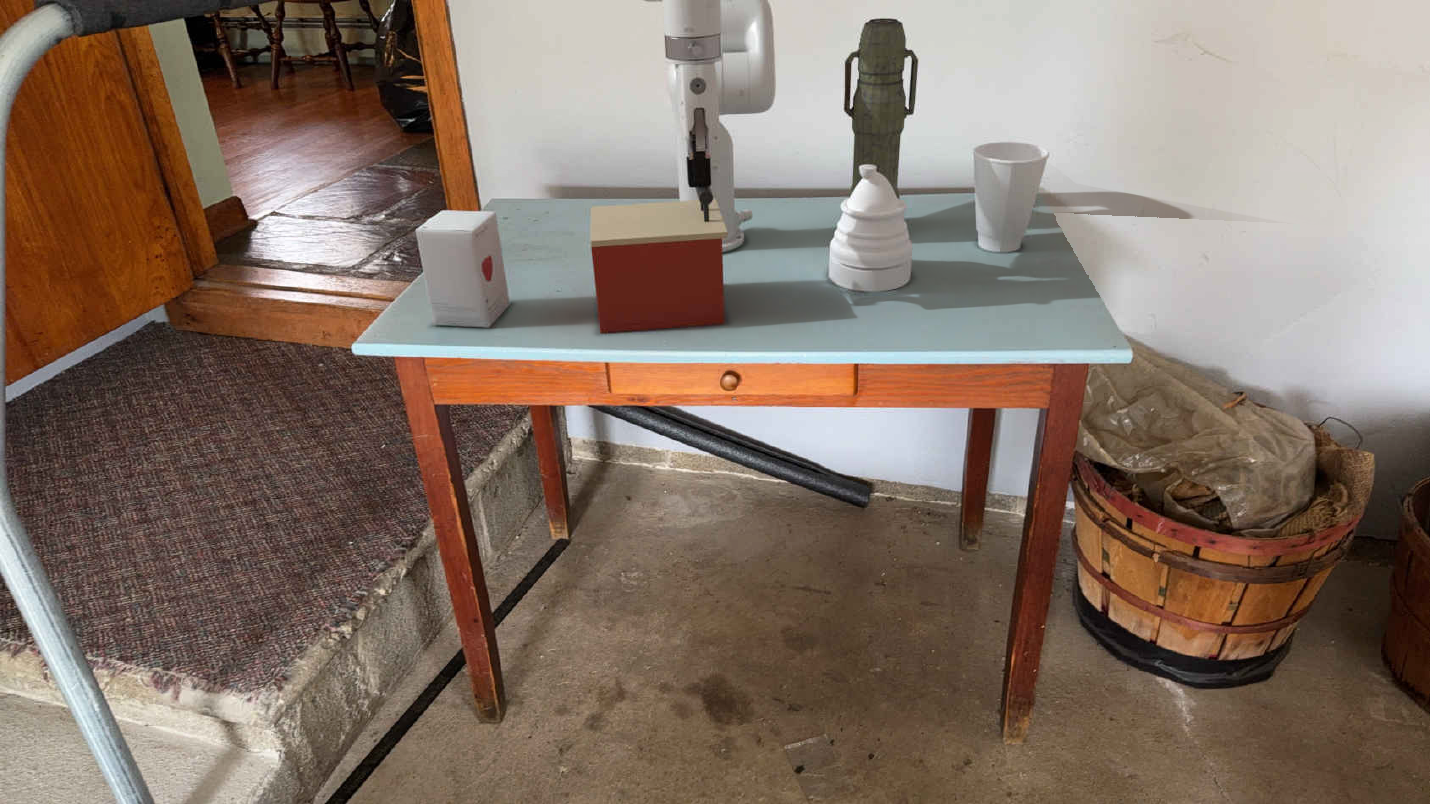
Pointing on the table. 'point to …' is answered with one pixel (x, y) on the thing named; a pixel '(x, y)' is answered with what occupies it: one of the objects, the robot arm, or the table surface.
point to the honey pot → (871, 238)
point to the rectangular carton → (463, 268)
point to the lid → (658, 222)
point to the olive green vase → (879, 98)
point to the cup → (1006, 192)
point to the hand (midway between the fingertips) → (699, 185)
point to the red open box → (659, 285)
